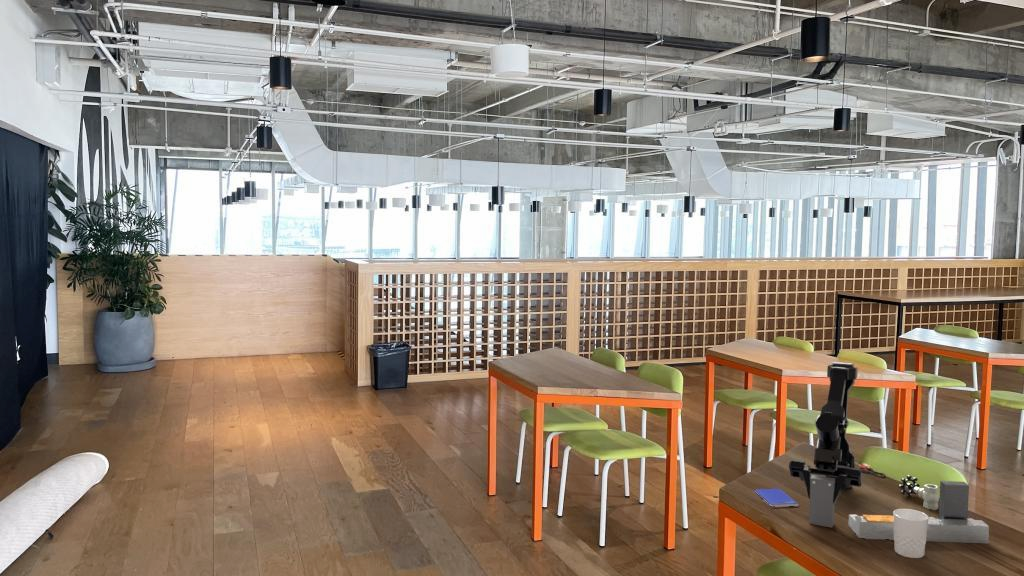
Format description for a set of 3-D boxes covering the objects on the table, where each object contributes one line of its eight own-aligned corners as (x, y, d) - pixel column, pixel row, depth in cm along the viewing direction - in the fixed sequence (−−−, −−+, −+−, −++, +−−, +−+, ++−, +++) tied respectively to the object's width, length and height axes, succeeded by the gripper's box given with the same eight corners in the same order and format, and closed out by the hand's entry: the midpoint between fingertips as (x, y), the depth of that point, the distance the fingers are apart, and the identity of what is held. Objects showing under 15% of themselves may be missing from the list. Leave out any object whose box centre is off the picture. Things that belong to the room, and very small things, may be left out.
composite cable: (887, 478, 250) (888, 470, 250) (875, 479, 249) (875, 472, 249) (866, 469, 260) (866, 461, 260) (854, 470, 258) (854, 463, 258)
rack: (848, 524, 212) (849, 476, 211) (970, 528, 209) (973, 480, 208) (859, 538, 203) (861, 488, 202) (988, 543, 199) (990, 492, 198)
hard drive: (798, 502, 226) (780, 488, 238) (771, 503, 225) (754, 489, 238) (798, 508, 226) (780, 493, 238) (771, 509, 225) (754, 494, 238)
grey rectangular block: (810, 519, 216) (812, 474, 215) (833, 523, 213) (835, 478, 212) (808, 523, 213) (810, 478, 212) (832, 528, 210) (833, 481, 209)
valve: (945, 509, 223) (917, 495, 234) (946, 487, 222) (918, 474, 234) (925, 511, 221) (897, 496, 233) (926, 489, 221) (898, 475, 233)
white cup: (885, 546, 198) (886, 509, 197) (914, 545, 199) (916, 507, 198) (903, 560, 190) (904, 521, 189) (933, 558, 191) (935, 519, 190)
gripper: (790, 431, 219) (782, 481, 210) (862, 440, 210) (856, 492, 201) (795, 451, 226) (787, 499, 218) (864, 460, 217) (859, 511, 209)
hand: (821, 500), depth 211 cm, fingers closed on grey rectangular block, 6 cm apart
